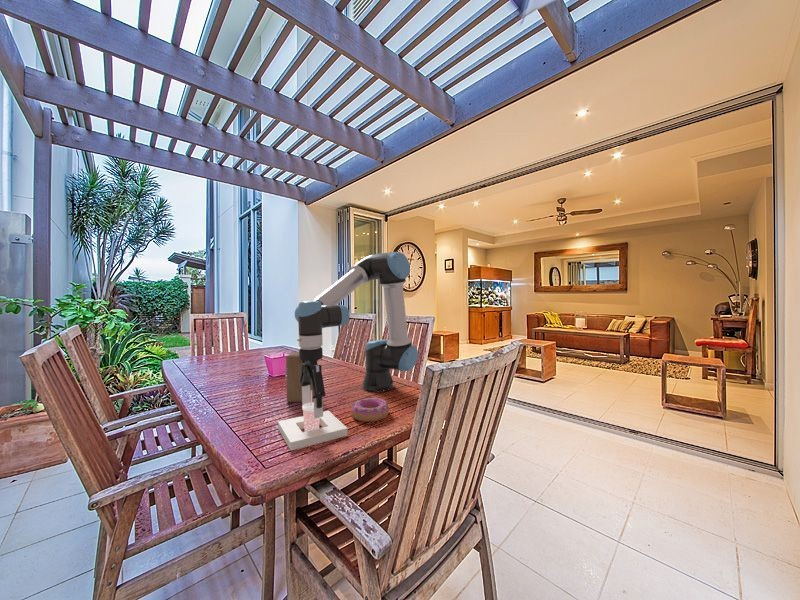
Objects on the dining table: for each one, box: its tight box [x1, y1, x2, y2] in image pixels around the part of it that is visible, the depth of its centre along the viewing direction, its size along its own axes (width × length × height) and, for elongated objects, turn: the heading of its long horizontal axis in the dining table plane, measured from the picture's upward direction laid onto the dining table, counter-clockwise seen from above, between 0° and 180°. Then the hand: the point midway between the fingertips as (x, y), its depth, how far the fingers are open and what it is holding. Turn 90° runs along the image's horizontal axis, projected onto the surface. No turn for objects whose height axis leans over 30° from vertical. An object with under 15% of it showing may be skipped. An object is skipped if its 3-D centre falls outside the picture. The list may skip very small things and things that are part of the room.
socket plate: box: [277, 410, 348, 451], centre depth 105 cm, size 18×18×2 cm
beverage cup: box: [301, 390, 320, 432], centre depth 105 cm, size 6×6×14 cm
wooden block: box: [285, 351, 314, 403], centre depth 138 cm, size 10×10×20 cm
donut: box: [351, 397, 390, 423], centre depth 119 cm, size 14×14×5 cm
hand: (312, 410), depth 105 cm, fingers open, 13 cm apart
